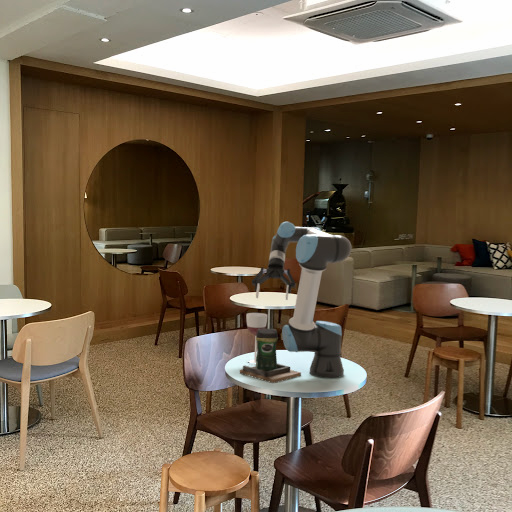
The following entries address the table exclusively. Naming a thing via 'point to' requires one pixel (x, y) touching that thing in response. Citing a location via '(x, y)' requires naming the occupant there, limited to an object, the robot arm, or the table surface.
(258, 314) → the wineglass
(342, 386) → the table surface
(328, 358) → the robot arm
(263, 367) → the coffee jar
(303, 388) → the table surface
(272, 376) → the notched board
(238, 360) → the table surface
